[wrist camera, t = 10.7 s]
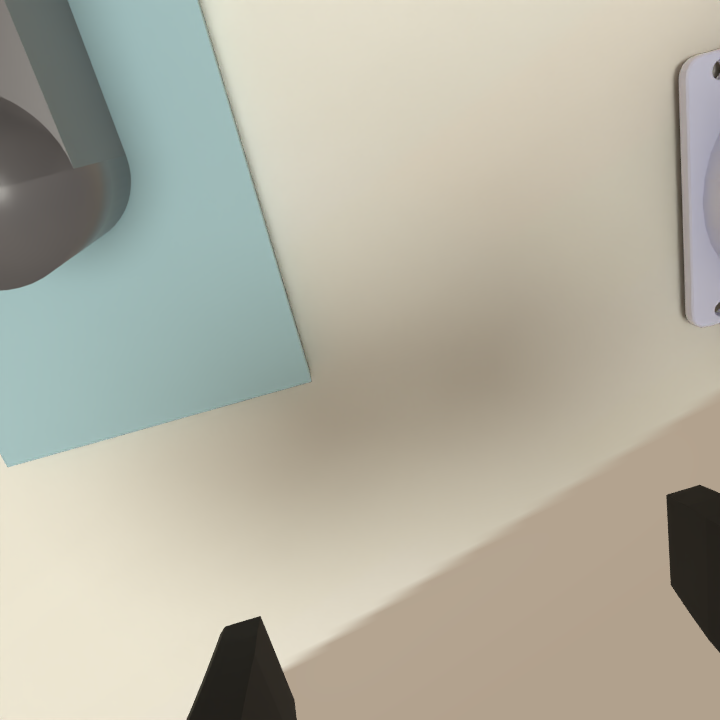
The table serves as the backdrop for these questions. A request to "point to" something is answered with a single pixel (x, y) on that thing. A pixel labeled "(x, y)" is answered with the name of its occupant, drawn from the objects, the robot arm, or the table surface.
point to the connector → (52, 144)
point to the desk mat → (152, 259)
